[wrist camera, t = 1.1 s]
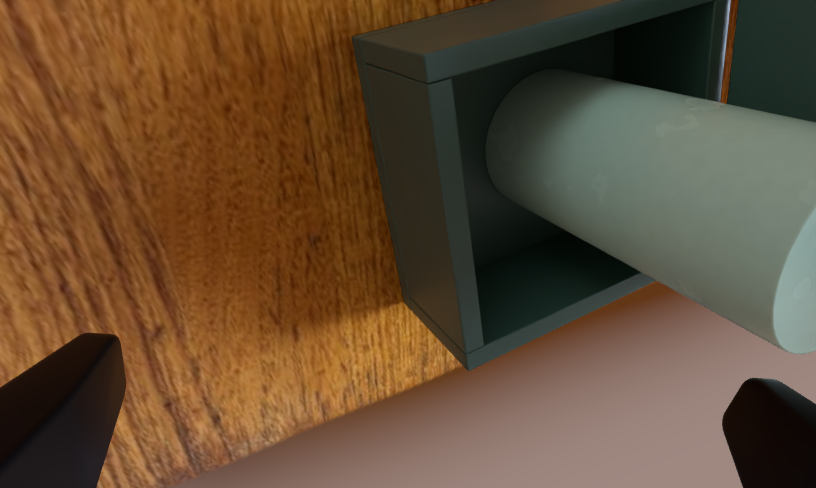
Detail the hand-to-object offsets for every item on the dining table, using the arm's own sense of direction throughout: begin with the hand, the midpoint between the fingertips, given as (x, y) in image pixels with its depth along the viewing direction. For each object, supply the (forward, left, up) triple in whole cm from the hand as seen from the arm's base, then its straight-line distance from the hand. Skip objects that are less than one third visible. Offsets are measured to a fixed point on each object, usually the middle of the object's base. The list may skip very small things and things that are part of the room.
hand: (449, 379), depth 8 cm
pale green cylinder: (+10, -6, -13) cm, 17 cm away
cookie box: (+9, -5, -14) cm, 17 cm away
